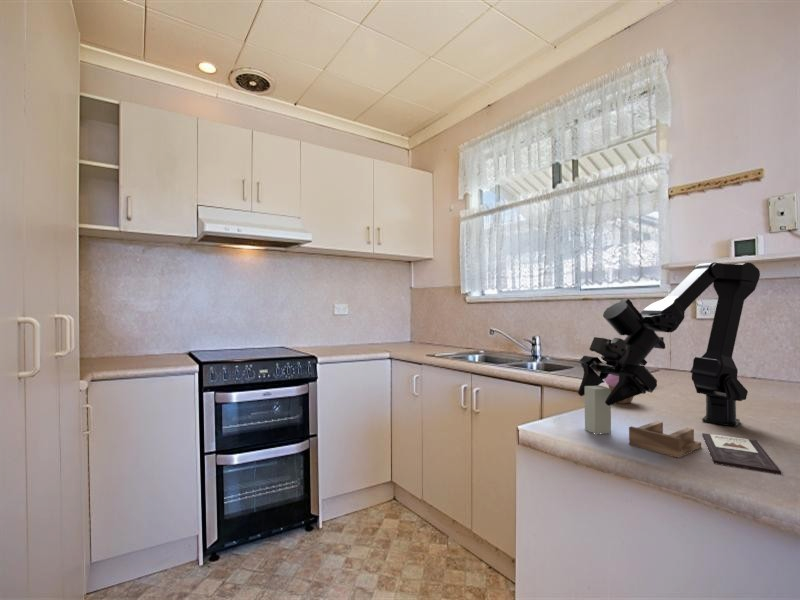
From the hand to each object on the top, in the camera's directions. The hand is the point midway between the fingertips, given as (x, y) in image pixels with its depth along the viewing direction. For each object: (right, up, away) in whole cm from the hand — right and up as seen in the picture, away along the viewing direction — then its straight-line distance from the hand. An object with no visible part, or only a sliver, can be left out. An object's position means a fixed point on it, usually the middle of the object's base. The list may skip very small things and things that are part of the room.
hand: (592, 399), depth 90 cm
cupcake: (+22, -8, +27) cm, 36 cm away
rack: (+10, -7, -9) cm, 16 cm away
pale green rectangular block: (+1, -7, 0) cm, 7 cm away
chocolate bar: (+22, -8, -13) cm, 27 cm away
